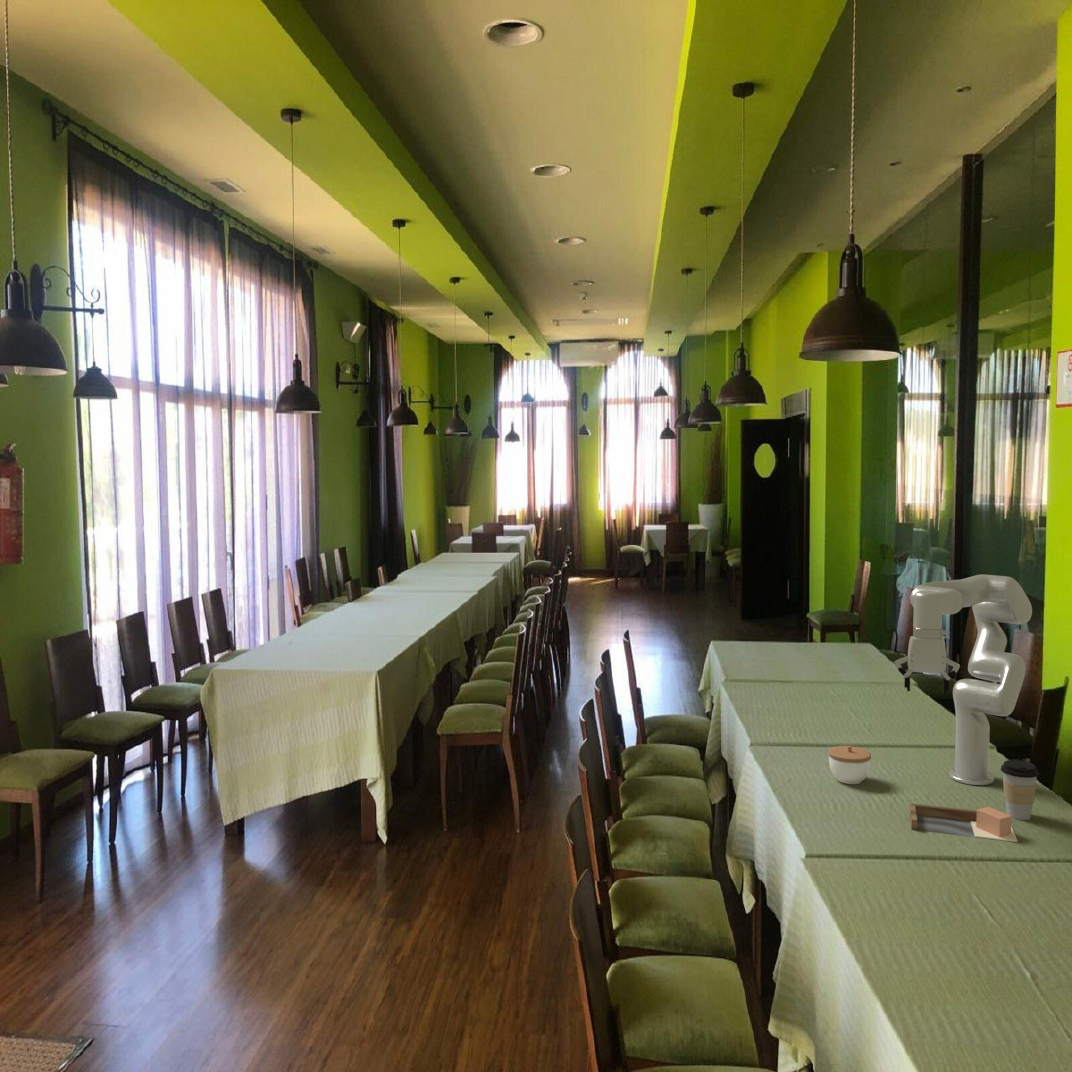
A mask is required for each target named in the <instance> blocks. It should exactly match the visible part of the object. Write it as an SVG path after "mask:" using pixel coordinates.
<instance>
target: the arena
mask: <svg viewBox="0 0 1072 1072" xmlns="http://www.w3.org/2000/svg"><path fill="white" fill-rule="evenodd" d="M976 819H977V810H972V809H965V808H956V807H945V806H936V805H929V804H919V803H911V804H909V821H910V828H911V830H912V831H922V832H930V833H937V834H945V835H954V836H962V837H972V838H976V837H975V836H974V832H973V829H972V825H971V821H974V822H976ZM1013 831H1014V832H1015V830H1014V829H1013ZM1015 836H1016V834H1015ZM977 838H979V837H977ZM979 839H980V838H979ZM985 839H987V838H985ZM1016 839H1017V842H1016V843H1019V840H1018V838H1017V836H1016ZM987 840H988V839H987ZM993 840H995V841H997V840H996V839H993ZM1001 841H1002V842H1003V841H1004V840H1001ZM1004 842H1005V841H1004ZM1010 842H1012V841H1010ZM1012 843H1013V842H1012Z"/></svg>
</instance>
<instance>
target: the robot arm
mask: <svg viewBox="0 0 1072 1072" xmlns="http://www.w3.org/2000/svg"><path fill="white" fill-rule="evenodd" d="M909 600H910V604H911V605H912V607H913V614H912V615H913V618H912V619H913V622H912V623H913V624H912V625H913V626H912V627H913V629H912V635H911V636H909V641H908V649H907V655H906V656H904V657H901V658H898V659H896V660H895V661H894V665H895V667H896V669H897V670H898V672H899V673H900V674H901V675H902V676H903V677H904V683H903V684H904V686H903V687H904V688H906V690H907V691H906V692H910V691H911V675H912V674H913V673H924V674H925V673H926V674H940V675H942V676H943V678H942V694H943V695H944V694H945V695H947V691H950V681H951V679H952V678H953V677H954V676H956V674H957V673H958V671H959V669H960V668H961V666H960V664H959V663H956V662H955V661H953V660H952V659H949V658H947V652H946V651H947V650H946V649H947V648H946V642H945V638H944V637H943V636H947V635H948V630H947V629H946V630H945V629H943V628H942V627H943V626H942V625H943V615H954V614H957V613H959V612H960V611H961V610H962V609H963V608H969V607H971V608H972V612H973V617H974V621H975V624H976V629H977V635H976V639H975V643H974V646H973V648H972V651H971V654H970V657H969V659H968V665H967V671H968V674H970V676H972V677H974V678H978V679H973V678H963V679H959V680H957V681H956V682H955V684H954V685H953V688H952V698H953V703H954V709H955V710H954V711H955V744H954V745H955V747H954V749H955V751H954V768H953V769H950V770H949V771H948V772H949V778H951V779H952V780H953V781H955V782H958V783H962V784H966V785H972V786H988V785H991V784H993V783H994V782H995V777H994V775H993V774H992V773H989V772H990V771H989V767H990V765H989V764H990V731H991V730H990V729H991V727H990V723H989V719H988V717H987V715H986V714H988V715H992V716H993V715H994V716H999V717H1007V716H1010V715H1011V714H1012V713H1013V711H1014V710H1015V707H1016V704H1017V701H1018V699H1019V695H1020V692H1021V689H1022V687H1023V682H1024V679H1025V676H1026V664H1025V661H1024V659H1023V658H1022V657H1021V656H1020V655H1018V654H1016V653H1012V652H1011V653H1010V652H1005V651H1006V648H1007V643H1008V639H1007V636H1006V633H1005V632H1004V630H1003V629H1002V627H1001V625H1000V624H999V623H1004V624H1012V625H1013V624H1014V625H1026V624H1027V623H1028V622H1029V621H1031V617H1032V616H1033V607H1032V604H1031V601H1030V599H1029V597H1028V596H1027V594H1026V592H1025V591H1024V589H1023V588H1022V586H1021V585H1020V584H1019V582H1018V581H1017V580H1016V579H1015V578H1013V577H1010V576H1005V575H995V574H977V575H973V576H969V577H965V578H962V579H951V580H944V581H931V582H926V583H922V584H919V585H917V586H915V587H914V588H913V590H911V592H910V598H909ZM906 662H907V667H908V668H907V669H904V668H903V667H902V665H903V664H905V663H906ZM947 665H949V666H951V667H953V668H952V669H951V670H950V671H949V672H947ZM979 679H981V680H979Z"/></svg>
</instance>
